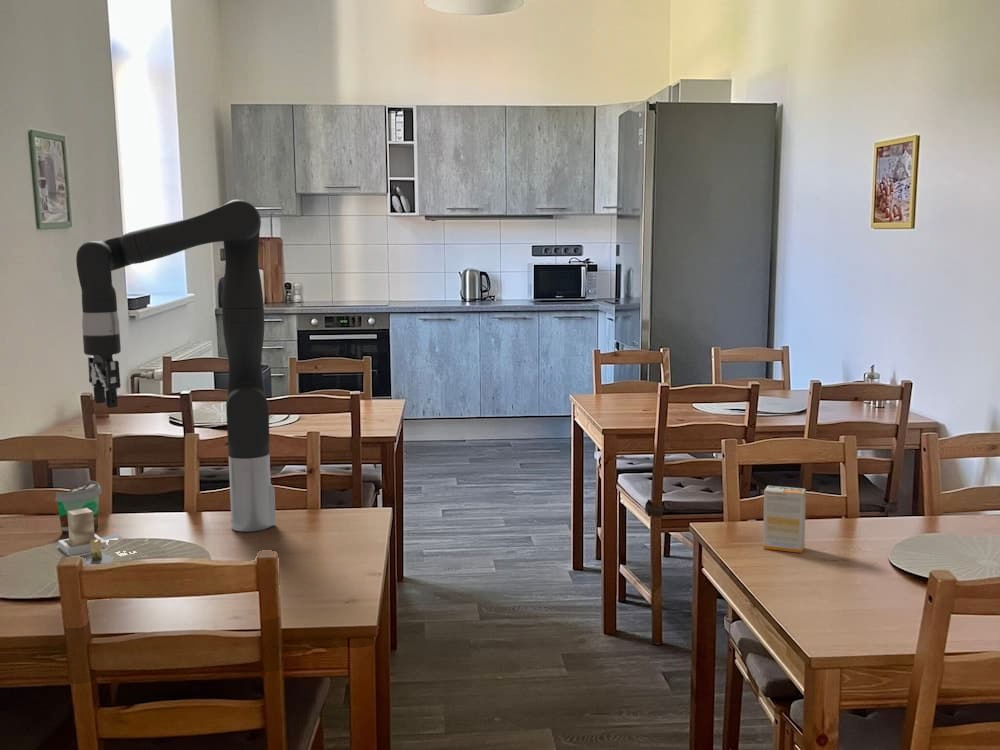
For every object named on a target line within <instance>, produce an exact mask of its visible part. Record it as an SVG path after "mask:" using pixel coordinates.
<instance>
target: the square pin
mask: <svg viewBox="0 0 1000 750" xmlns="http://www.w3.org/2000/svg"><path fill="white" fill-rule="evenodd" d="M67 514H68V529H69V534H68V539H69V544H70V547H76V546H81V545H86V544H90V541H91V540H95V535H94V534H95V529H94V519H93V511H91V510H89V509H88V508H83V509H78V510H72V511H67Z"/></svg>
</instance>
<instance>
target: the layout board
mask: <svg viewBox="0 0 1000 750" xmlns="http://www.w3.org/2000/svg"><path fill="white" fill-rule="evenodd" d="M94 535H95V539H100V540H101V549H105V548H106V545H109V544H108V542H109V540H118V539H125V538H124V537H123V536H121V535H119V534H114V535H108V536H102V537H100V536H99V535H97V534H96V533H94ZM57 542H58V545H56V546H55V548H57V549H58V550H59V551H60V552H61V553H63V554H64V555H65V556H66V557H67V558H68V557H71V556H80V557H83V558H84V559H85V558H86V560H85V563H86V564H101V563H109V562H112V561H114V560H113V558H114V557H111V556H110V555H105V553H103V552H102V560H99V561H92V560H91V545H90V544H86V545H81V546H76V547H70V544H69V538H66V539H59V540H57ZM106 550H107V549H106ZM106 550H102V551H106ZM123 552H124V553H120V551H118V552H115V553H116V554H117V555H118V556H120V557H122V556H126V555H128V554H127V553H125V552H126V551H123ZM119 553H120V554H119ZM129 553H130V554H135V553H137V552H136V551H133V553H131V552H129ZM130 554H129V555H130ZM146 555H147V554H146ZM146 555H145V556H142V555H141V556H142V557H144V558H148V557H149V555H148V556H146ZM138 558H139V557H138ZM129 559H132V558H129Z"/></svg>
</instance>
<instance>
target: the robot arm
mask: <svg viewBox="0 0 1000 750" xmlns="http://www.w3.org/2000/svg"><path fill="white" fill-rule="evenodd" d="M261 219H262V218H261V215H260V213H259V211H258V209H257V208H256V207H255V206H254V205H253V204H252V203H250V202H248V201H246V200H244V199H232V200H229V201H228V202H226V203H224V204H222V205H220V206H218V207H215V208H214V209H212V210H209V211H207V212H204V213H201V214H198V215H195V216H191V217H189V218H184V219H180V220H175V221H173V222H168V223H162V224H158V225H153V226H149V227H144V228H142V229H141V228H140V229H137V230H134V231H129V232H128V233H125V234H123V235H122V236H117V237H113V238H108V239H105V240H104V239H102V240H98V241H93V240H92V241H86V242H85V243H83V244H81V245H80V247H79V248H78V250H77V252H76V257H75V260H76V261H75V262H76V270H77V275H78V281H79V284H80V289H81V304H82V305H81V307H82V309H81V310H82V318H81V319H82V320H81V326H82V327H81V328H82V341H83V353H84V354H85V355H86V356H89V357H88V358H87V361H88V382H89V383H90V384H91V386H92V387H93V401H94V403H95V404H104V403H105V406H106V407H107V408H108V409H110V408H111V409H112V408H117V407H118V393H117V392H118V389H120V388H121V387H122V386H121V378H120V377H121V376H120V363H119V360H114V359H113V355H118V354H120V353H122V351H121V350H122V349H121V348H122V347H121V334H120V333H121V332H120V331H121V330H120V320H119V316H118V304H117V303H118V302H117V293H116V289H115V288H114V285H113V279H112V272H113V271H116V270H119V269H122V268H126V267H128V266H131V265H135V264H136V265H137V264H142V263H147V262H150V261H154V260H158V259H162V258H165V257H168V256H171V255H174V254H175V255H176V254H178V253H180V252H183V251H186V250H188V249H191V248H195V247H199V246H203V245H206V244H207V245H208V244H211V243H218V242H219V243H220V242H223V247H224V255H225V256H224V259H225V266H224V276H223V277H224V278H223V284H222V293H221V294H222V295H221V297H222V298H221V314H222V316H221V317H222V330H223V337H224V342H225V343H224V345H225V350H226V354H227V361H228V383H227V384H228V385H227V395H226V402H225V407H226V408H225V409H226V410H225V411H226V412H225V413H226V428H227V429H226V431H227V451H228V471H229V474H228V475H229V477H228V478H229V495H230V496H229V497H230V516H231V517H230V523H231V529H232V530H234V531H236V532H247V533H248V532H259V531H263V530H267V529H269V528H271V527H272V526H273V527H274V526H276V523H277V522H276V521H277V520H276V497H275V493H276V492H275V486H274V485H273V484H272V483H271V481H272V480H271V459H270V455H271V454H270V411H269V403H268V399H267V396H266V393H265V388H264V380H263V371H262V355H263V349H264V348H263V346H264V339H265V338H264V337H265V305H264V295H263V285H262V279H261V273H260V266H259V246H260V244H259V243H260V235H261V234H260V231H261V225H262V220H261Z"/></svg>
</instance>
